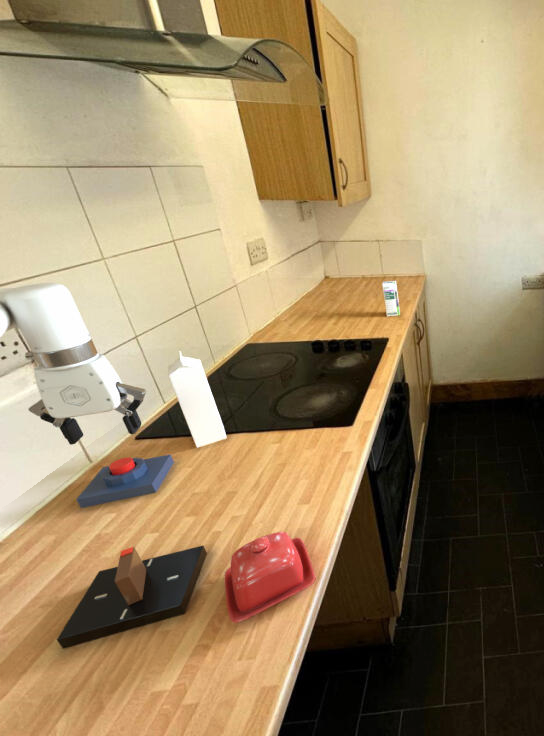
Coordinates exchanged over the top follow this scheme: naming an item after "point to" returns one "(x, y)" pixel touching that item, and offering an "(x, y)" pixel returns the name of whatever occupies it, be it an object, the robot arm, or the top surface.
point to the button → (122, 466)
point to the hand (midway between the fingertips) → (106, 435)
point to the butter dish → (266, 574)
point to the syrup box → (391, 298)
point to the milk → (196, 400)
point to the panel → (160, 601)
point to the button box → (126, 482)
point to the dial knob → (130, 576)
